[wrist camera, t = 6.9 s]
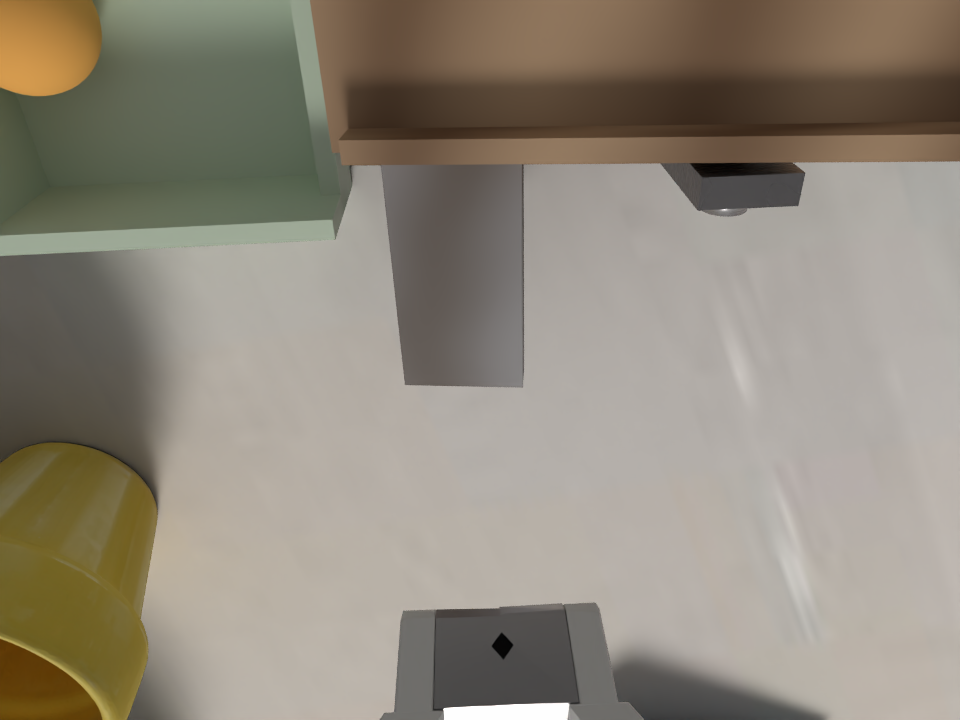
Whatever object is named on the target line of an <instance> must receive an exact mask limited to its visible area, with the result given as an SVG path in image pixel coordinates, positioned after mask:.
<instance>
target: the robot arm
mask: <svg viewBox="0 0 960 720" xmlns="http://www.w3.org/2000/svg"><path fill="white" fill-rule="evenodd" d="M380 720H644V719H643V717H642V716H641V715H640V714H639V713H638V712H637V711H636V710H635V709H634V708H633V706H632V705H631V704H630V703H629V702H618V697H617V692H616V687H615V682H614V677H613V672H612V668H611V663H610V658H609V653H608V648H607V643H606V639H605V634H604V629H603V624H602V619H601V614H600V610H599V608H598V606H597V604H596V603H578V604H564V605H563V604H562V603H560V604H543V605H526V606H509V607H499V608H496V609H444V610H411V611H403V614H402V618H401V623H400V637H399V651H398V665H397V679H396V694H395V708H394V712H391V713H384V714H383V716H382V717H381V719H380Z"/></svg>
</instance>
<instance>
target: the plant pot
mask: <svg viewBox="0 0 960 720" xmlns="http://www.w3.org/2000/svg"><path fill="white" fill-rule="evenodd" d="M157 514H158V513H157V507H156V502H155V500H154V497H153V495H152V493H151V491H150V489H149V487H148V486H147V485H146V483H145V482H144V481H143V479H142V478H141V477H140V476H139V475H138V474H137V473H136V472H134V471H133V470H132V469H131V468H130V467H129V466H127V465H126V464H124V463H123V462H121V461H120V460H118V459H116V458H114V457H113V456H111V455H108V454H106V453H104V452H101V451H99V450H96V449H93V448H90V447H86V446H82V445H77V444H71V443H52V442H47V443H41V444H36V445H32V446H28V447H25V448H23V449H21V450H18V451H17V452H15V453H13V454H12V455H11V456H9V457H8V458H6V459H5V460H4V461H3V462H1V463H0V720H127V718H128V716H129V713H130V711H131V708H132V705H133V702H134V699H135V697H136V694H137V691H138V688H139V686H140V683H141V680H142V676H143V673H144V670H145V667H146V663H147V659H148V640H147V635H146V632H145V629H144V626H143V624H142V622H141V620H140V619H141V613H142V607H143V601H144V595H145V589H146V583H147V577H148V571H149V565H150V560H151V554H152V548H153V543H154V537H155V531H156V525H157Z"/></svg>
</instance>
